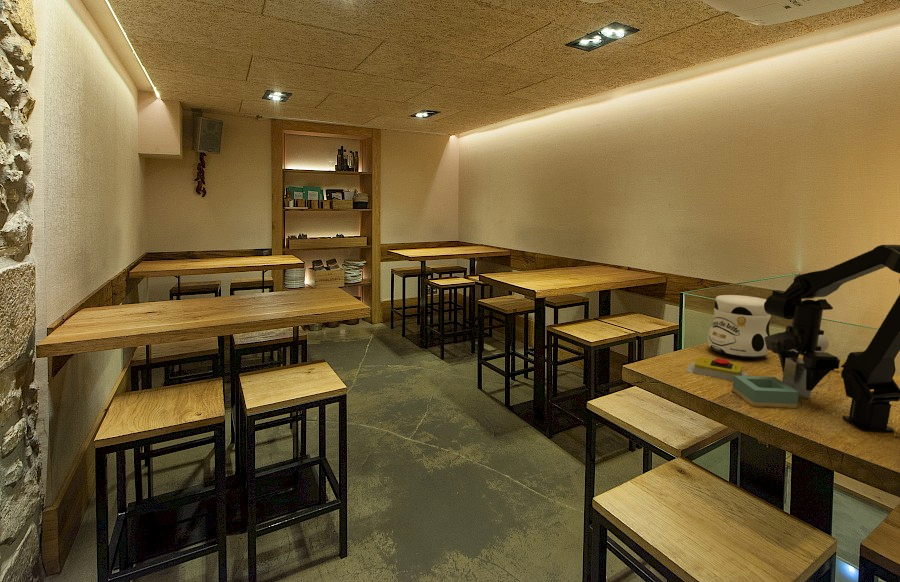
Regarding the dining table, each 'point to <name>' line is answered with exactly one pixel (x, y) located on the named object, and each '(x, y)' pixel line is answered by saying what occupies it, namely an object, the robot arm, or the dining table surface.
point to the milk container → (739, 326)
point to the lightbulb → (823, 343)
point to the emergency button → (716, 368)
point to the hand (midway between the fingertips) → (797, 383)
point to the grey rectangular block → (796, 376)
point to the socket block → (765, 391)
